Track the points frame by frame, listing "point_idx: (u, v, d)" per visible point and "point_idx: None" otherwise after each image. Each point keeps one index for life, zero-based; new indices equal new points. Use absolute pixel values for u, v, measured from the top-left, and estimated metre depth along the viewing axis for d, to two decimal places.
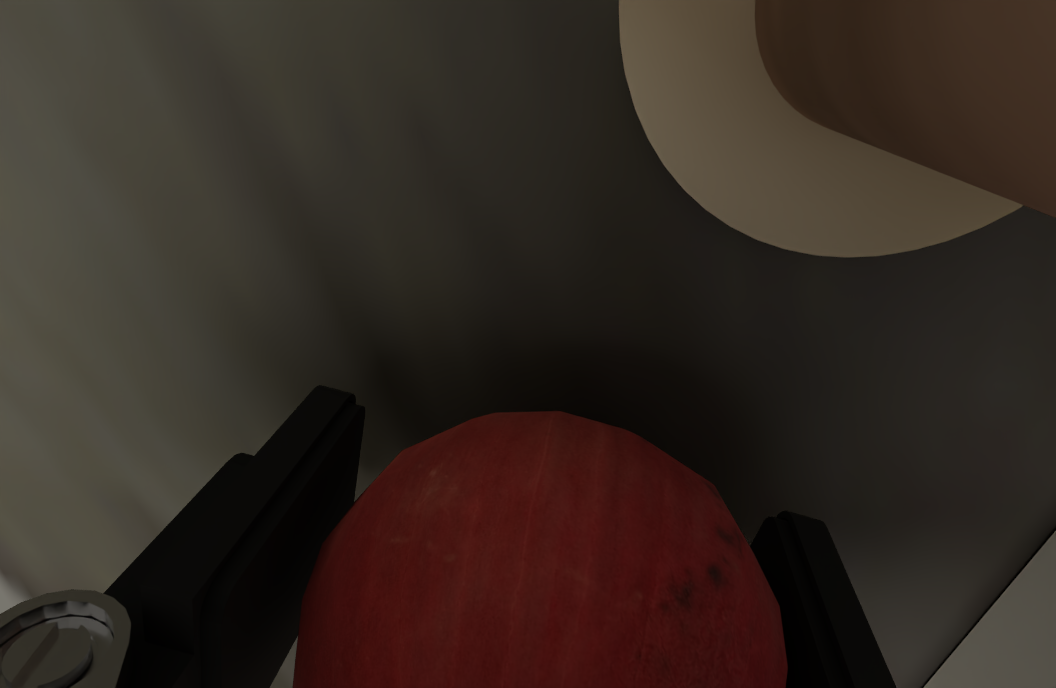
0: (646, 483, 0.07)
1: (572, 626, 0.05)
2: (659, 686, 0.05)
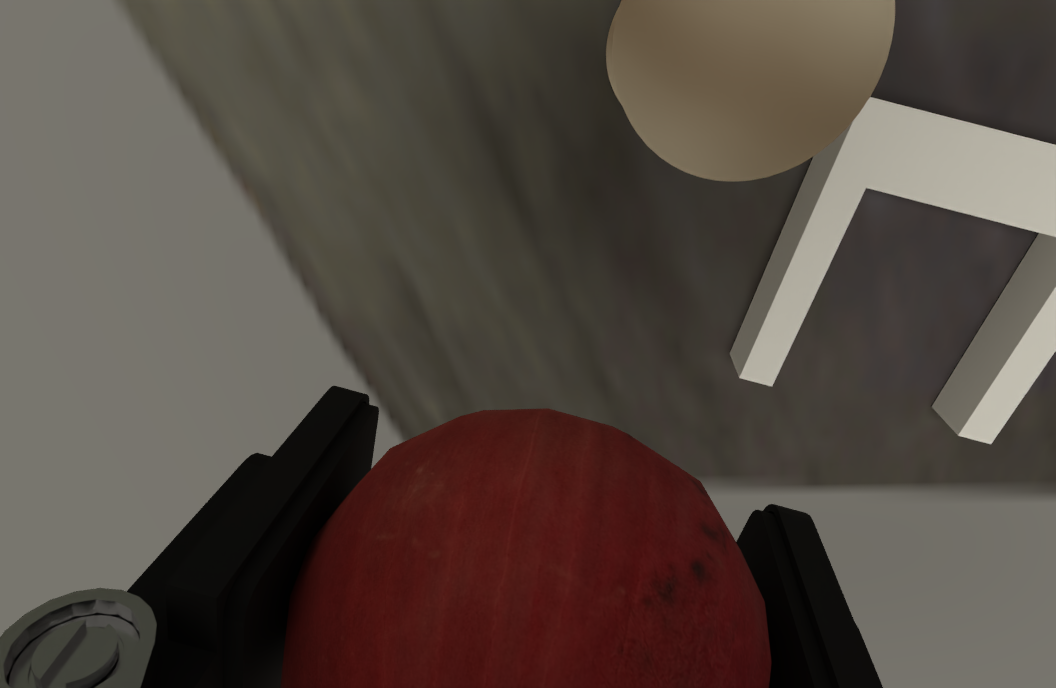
0: (631, 480, 0.07)
1: (554, 621, 0.05)
2: (641, 680, 0.05)
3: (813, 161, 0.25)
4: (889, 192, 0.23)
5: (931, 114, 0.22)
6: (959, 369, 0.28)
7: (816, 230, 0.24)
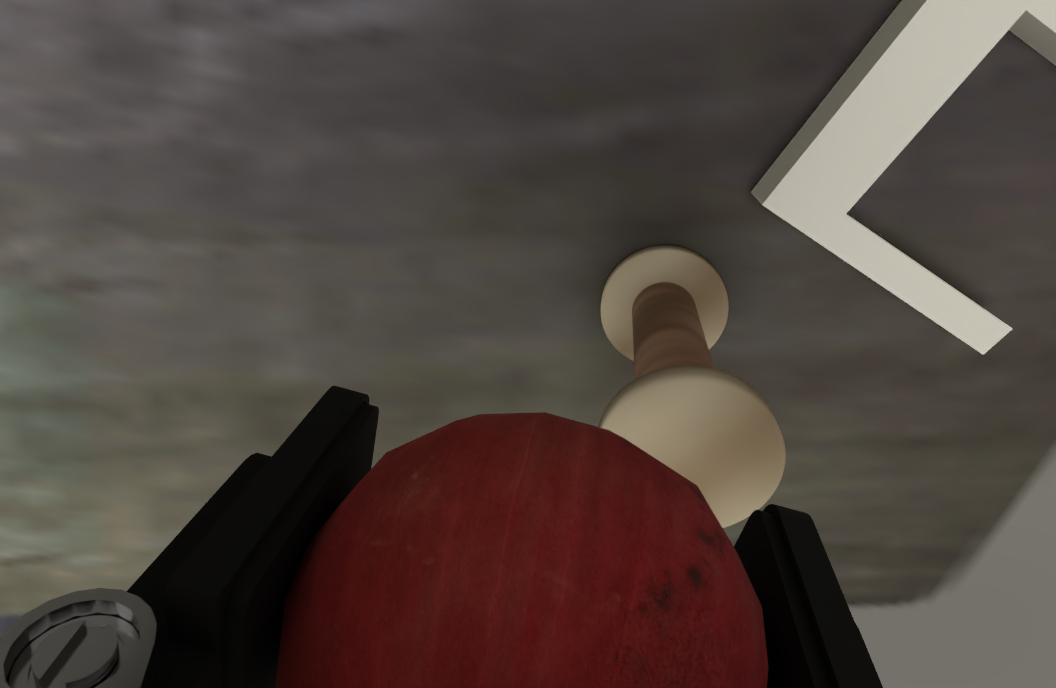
0: (626, 486, 0.07)
1: (549, 629, 0.05)
2: None
3: None
4: (861, 194, 0.25)
5: (806, 152, 0.24)
6: None
7: (864, 260, 0.26)
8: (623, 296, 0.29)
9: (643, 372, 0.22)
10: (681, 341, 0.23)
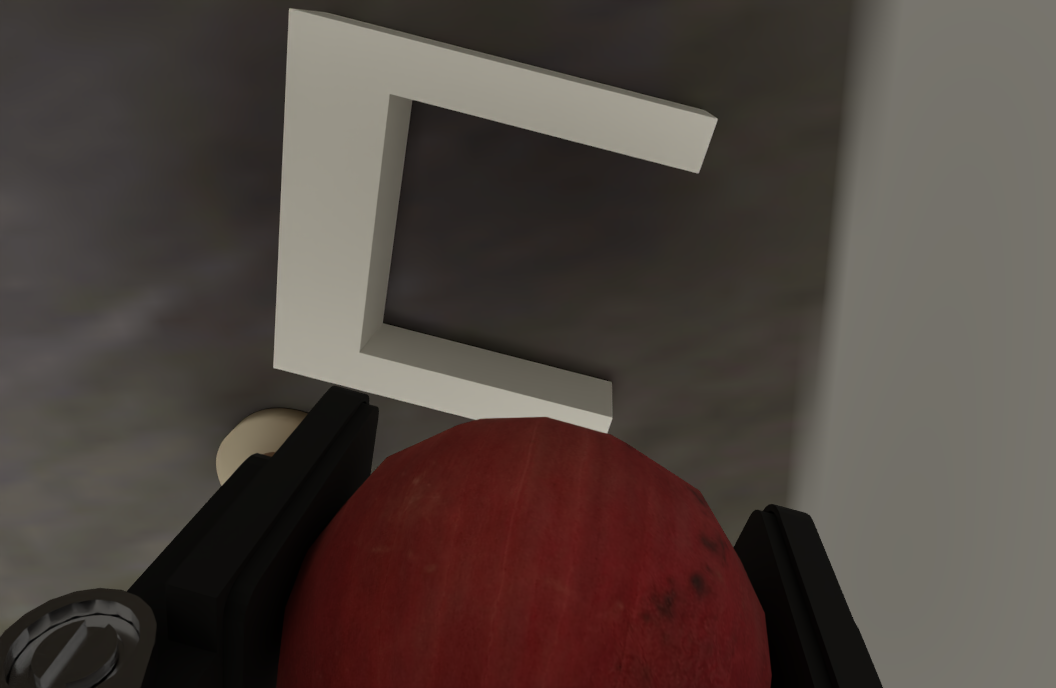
0: (629, 492, 0.06)
1: (551, 637, 0.05)
2: None
3: None
4: (360, 329, 0.21)
5: (277, 305, 0.21)
6: None
7: (411, 392, 0.22)
8: None
9: None
10: None
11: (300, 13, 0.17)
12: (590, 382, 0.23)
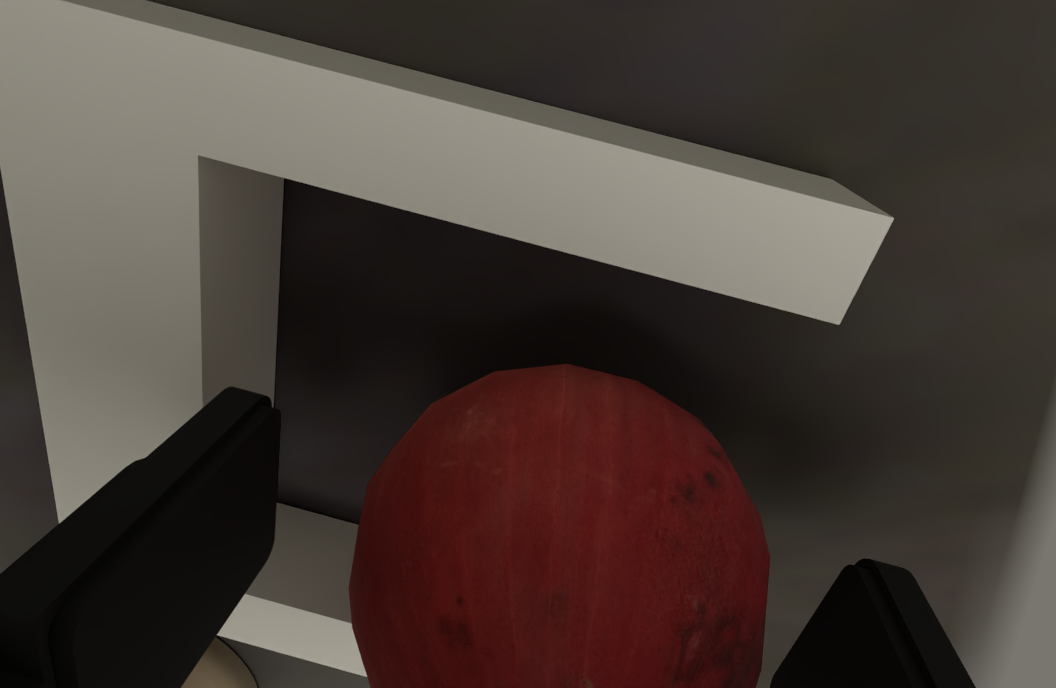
0: (649, 411, 0.08)
1: (602, 515, 0.06)
2: (674, 558, 0.07)
3: None
4: None
5: (58, 506, 0.12)
6: None
7: (299, 643, 0.13)
8: None
9: None
10: None
11: None
12: None
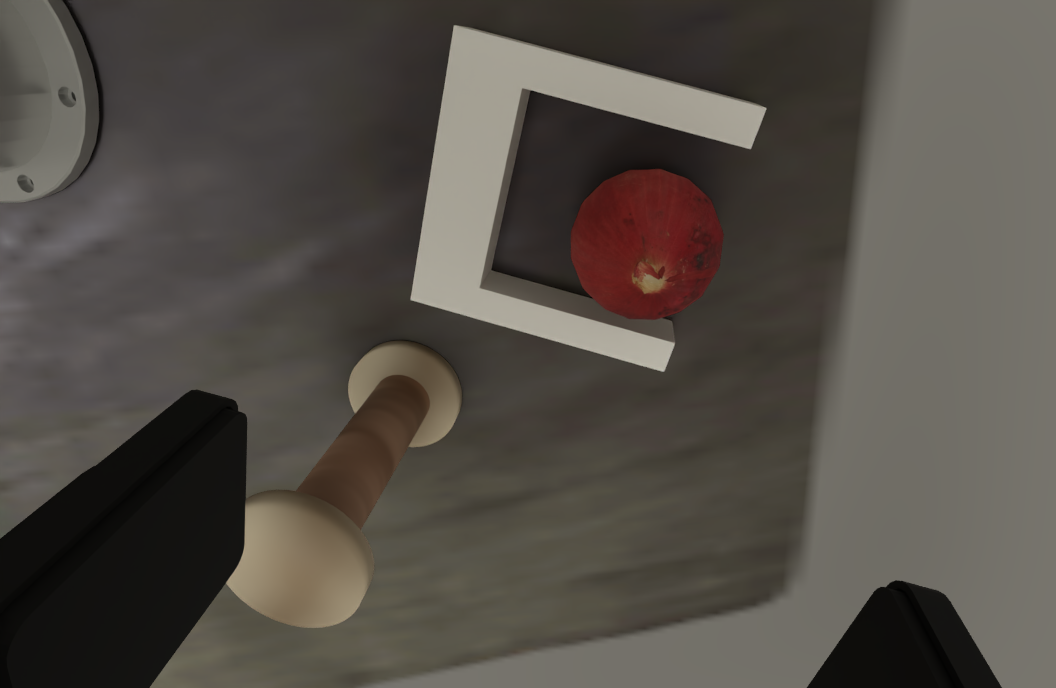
0: (687, 180, 0.23)
1: (673, 196, 0.22)
2: (693, 211, 0.22)
3: None
4: (482, 269, 0.27)
5: (419, 249, 0.27)
6: None
7: (517, 321, 0.28)
8: (365, 395, 0.33)
9: None
10: (338, 448, 0.26)
11: (461, 29, 0.23)
12: (655, 320, 0.29)
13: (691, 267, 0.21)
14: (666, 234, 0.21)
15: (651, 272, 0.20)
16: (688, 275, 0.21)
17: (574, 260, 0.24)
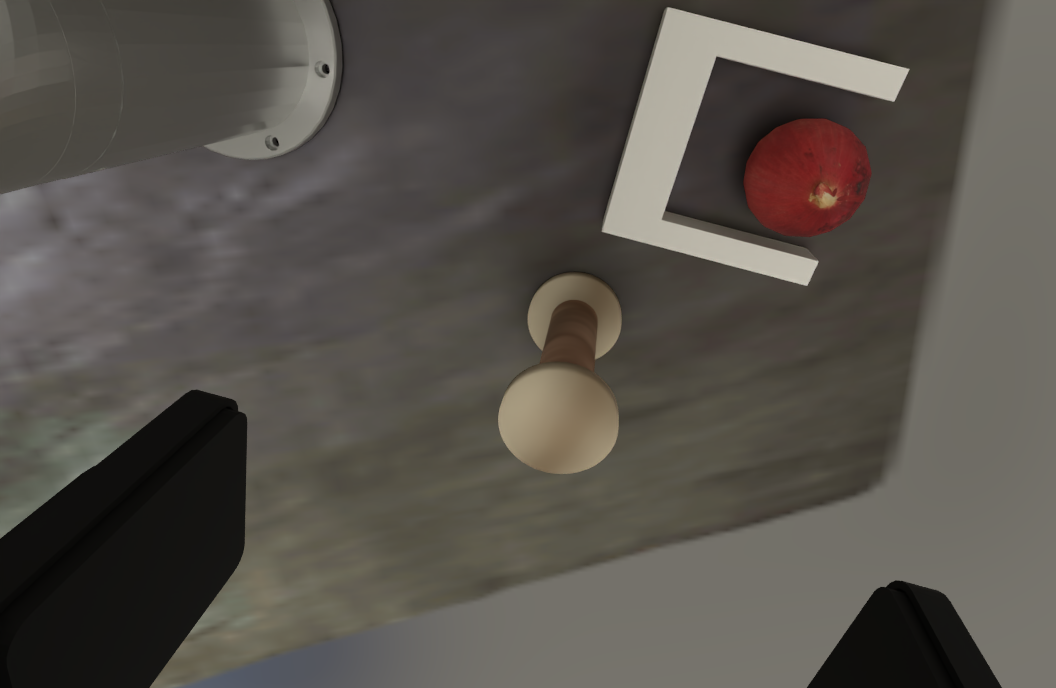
0: (846, 128, 0.30)
1: (842, 137, 0.29)
2: (856, 149, 0.29)
3: None
4: (665, 204, 0.34)
5: (615, 188, 0.34)
6: (835, 87, 0.32)
7: (689, 246, 0.35)
8: (542, 319, 0.39)
9: None
10: (560, 345, 0.33)
11: (673, 10, 0.30)
12: (794, 246, 0.36)
13: (853, 192, 0.28)
14: (838, 165, 0.28)
15: (829, 191, 0.27)
16: (850, 198, 0.28)
17: (751, 187, 0.31)
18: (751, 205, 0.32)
